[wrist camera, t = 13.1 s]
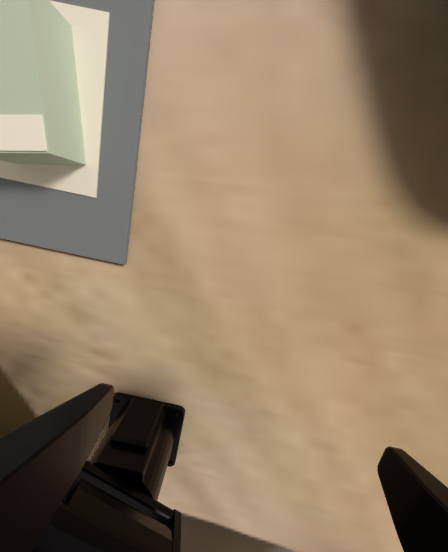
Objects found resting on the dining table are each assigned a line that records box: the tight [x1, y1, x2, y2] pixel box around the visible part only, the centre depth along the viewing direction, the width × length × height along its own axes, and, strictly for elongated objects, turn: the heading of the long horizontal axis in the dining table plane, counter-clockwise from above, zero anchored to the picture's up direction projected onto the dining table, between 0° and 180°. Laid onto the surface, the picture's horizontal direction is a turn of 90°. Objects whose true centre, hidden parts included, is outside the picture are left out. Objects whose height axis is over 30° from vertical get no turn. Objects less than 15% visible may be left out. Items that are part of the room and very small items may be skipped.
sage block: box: [0, 0, 86, 165], centre depth 15 cm, size 5×8×4 cm, turn 179°
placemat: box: [0, 0, 154, 265], centre depth 17 cm, size 20×13×1 cm, turn 168°
